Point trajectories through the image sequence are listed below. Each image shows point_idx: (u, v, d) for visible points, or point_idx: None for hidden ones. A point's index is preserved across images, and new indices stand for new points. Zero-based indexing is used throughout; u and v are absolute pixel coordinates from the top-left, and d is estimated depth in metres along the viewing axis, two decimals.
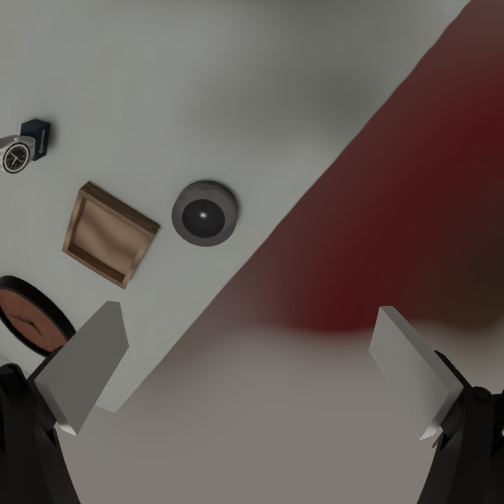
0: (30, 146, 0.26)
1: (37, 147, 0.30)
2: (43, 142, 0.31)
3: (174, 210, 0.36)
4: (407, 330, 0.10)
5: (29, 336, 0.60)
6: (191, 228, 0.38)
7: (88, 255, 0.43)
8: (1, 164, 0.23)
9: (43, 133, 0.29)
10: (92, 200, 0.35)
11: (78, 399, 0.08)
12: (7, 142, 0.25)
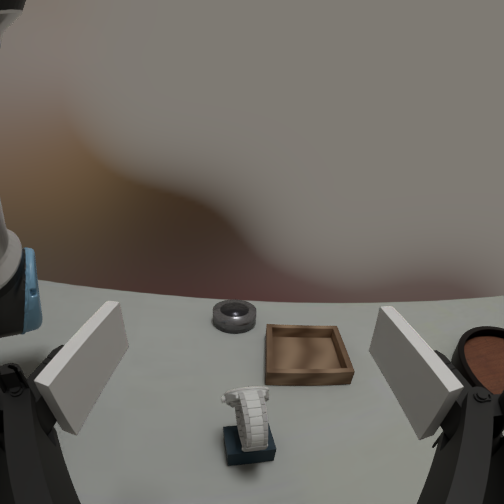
0: None
1: None
2: None
3: (238, 319, 0.53)
4: (407, 330, 0.10)
5: None
6: (245, 311, 0.56)
7: (340, 360, 0.43)
8: (254, 389, 0.25)
9: None
10: (270, 361, 0.41)
11: (78, 399, 0.08)
12: None
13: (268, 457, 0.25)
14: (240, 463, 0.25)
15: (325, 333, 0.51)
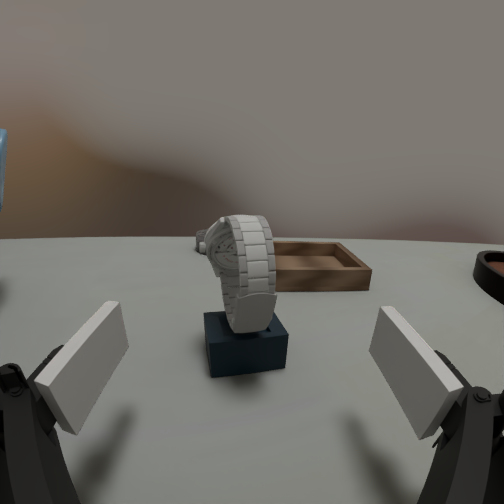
0: None
1: None
2: None
3: None
4: (407, 330, 0.10)
5: None
6: None
7: None
8: None
9: None
10: None
11: (78, 399, 0.08)
12: None
13: (277, 359, 0.19)
14: (231, 372, 0.18)
15: (327, 250, 0.45)
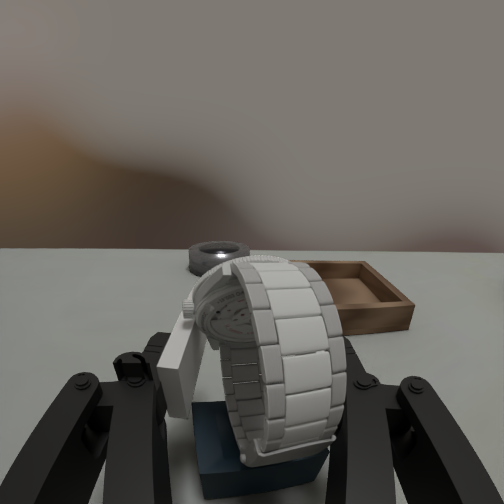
0: None
1: None
2: None
3: (224, 256, 0.37)
4: None
5: None
6: (234, 249, 0.40)
7: (383, 299, 0.28)
8: (277, 262, 0.10)
9: None
10: None
11: (189, 382, 0.10)
12: None
13: (304, 476, 0.09)
14: (235, 493, 0.09)
15: (351, 271, 0.36)
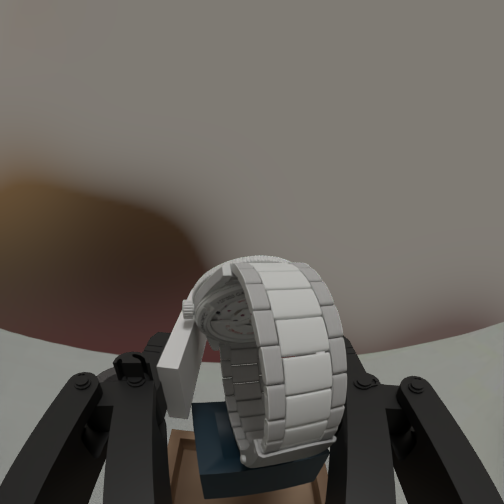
0: None
1: None
2: None
3: None
4: None
5: None
6: None
7: None
8: (277, 262, 0.10)
9: None
10: None
11: (189, 382, 0.10)
12: None
13: (304, 477, 0.09)
14: (235, 494, 0.09)
15: None
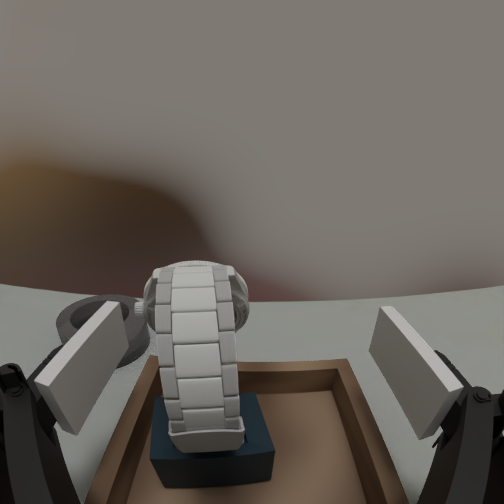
0: None
1: None
2: None
3: None
4: (407, 330, 0.10)
5: None
6: None
7: (363, 477, 0.10)
8: (207, 266, 0.11)
9: None
10: (101, 491, 0.07)
11: (78, 399, 0.08)
12: None
13: (258, 474, 0.10)
14: (191, 484, 0.09)
15: (315, 381, 0.17)
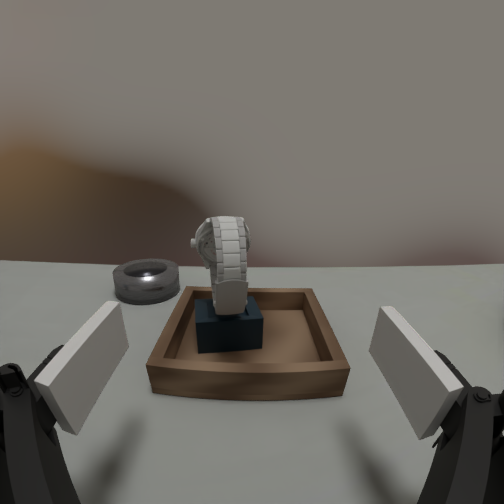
0: None
1: None
2: None
3: (142, 280, 0.30)
4: (407, 330, 0.10)
5: None
6: (159, 270, 0.34)
7: (318, 348, 0.22)
8: None
9: None
10: (163, 343, 0.19)
11: (78, 399, 0.08)
12: None
13: (254, 340, 0.22)
14: (215, 349, 0.22)
15: (291, 301, 0.30)
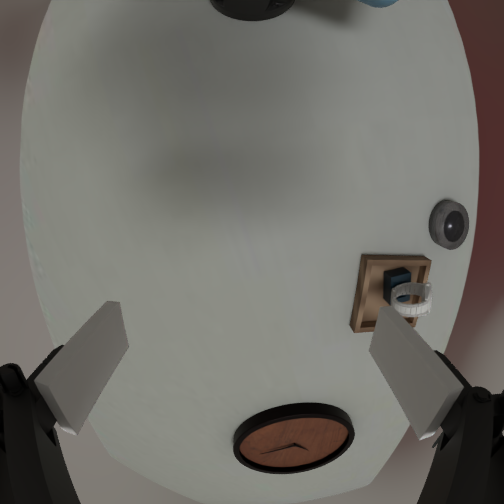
0: None
1: None
2: None
3: (439, 231, 0.41)
4: (407, 330, 0.10)
5: (283, 462, 0.61)
6: (451, 238, 0.41)
7: (375, 322, 0.47)
8: (428, 309, 0.36)
9: None
10: (381, 263, 0.42)
11: (78, 399, 0.08)
12: None
13: (385, 297, 0.46)
14: (384, 279, 0.45)
15: None
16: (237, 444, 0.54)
